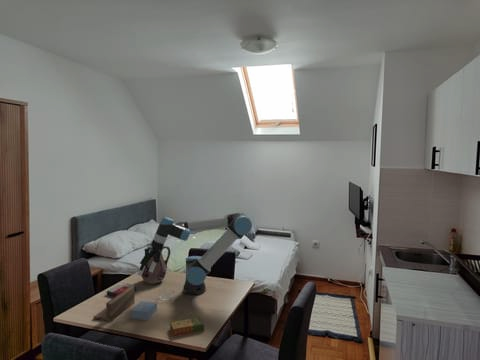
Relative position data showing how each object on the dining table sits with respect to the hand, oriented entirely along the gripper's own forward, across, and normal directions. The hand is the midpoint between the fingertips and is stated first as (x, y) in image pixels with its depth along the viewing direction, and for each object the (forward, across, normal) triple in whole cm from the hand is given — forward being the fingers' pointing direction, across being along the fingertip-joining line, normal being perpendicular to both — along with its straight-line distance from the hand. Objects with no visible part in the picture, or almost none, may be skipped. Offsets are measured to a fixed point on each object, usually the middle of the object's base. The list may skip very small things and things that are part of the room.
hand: (145, 273), depth 201 cm
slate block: (+17, +11, +14) cm, 25 cm away
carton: (+8, +21, +44) cm, 49 cm away
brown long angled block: (+23, +12, -3) cm, 26 cm away
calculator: (+24, -12, -15) cm, 30 cm away
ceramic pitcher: (+15, -37, -6) cm, 40 cm away
